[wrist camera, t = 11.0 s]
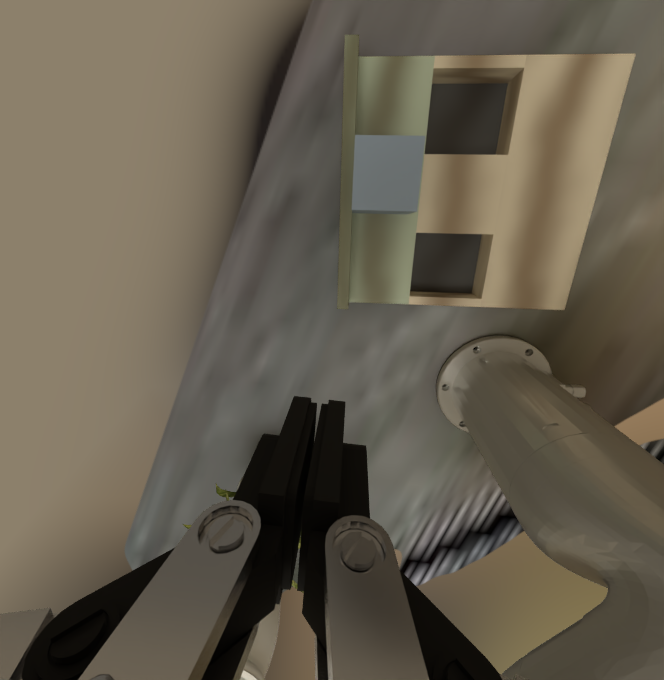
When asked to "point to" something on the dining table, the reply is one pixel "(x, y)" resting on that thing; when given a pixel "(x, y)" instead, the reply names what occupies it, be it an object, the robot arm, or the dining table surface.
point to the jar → (262, 647)
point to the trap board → (479, 175)
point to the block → (387, 173)
